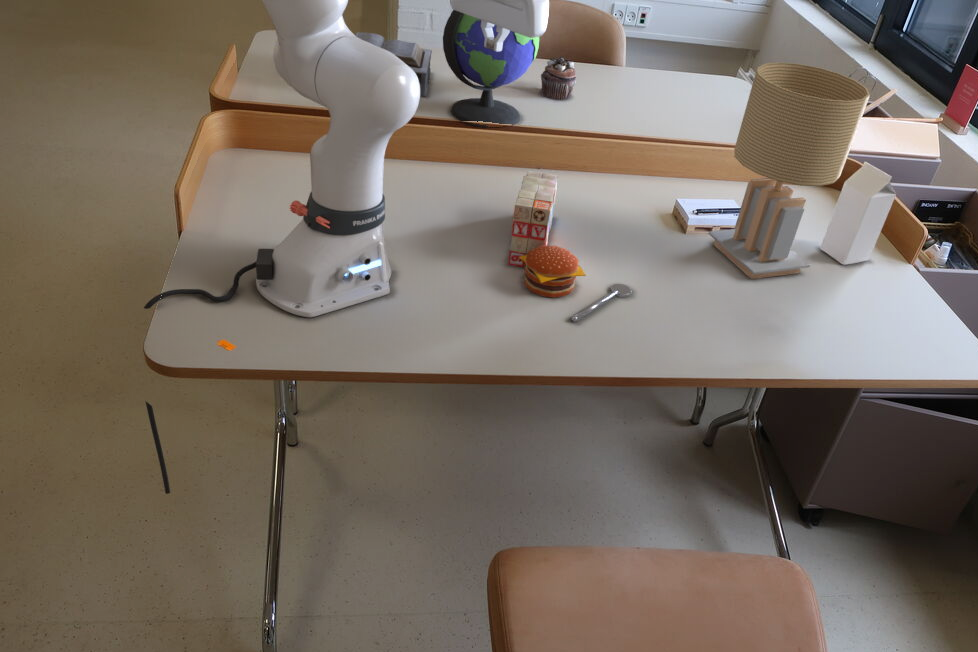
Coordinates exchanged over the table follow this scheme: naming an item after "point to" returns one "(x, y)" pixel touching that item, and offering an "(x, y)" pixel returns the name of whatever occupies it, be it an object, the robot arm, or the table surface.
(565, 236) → the table surface
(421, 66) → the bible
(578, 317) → the metal handle tool
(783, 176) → the desk lamp
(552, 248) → the hamburger
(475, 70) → the globe
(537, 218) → the stack of blocks
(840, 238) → the milk carton
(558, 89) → the cupcake
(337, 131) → the robot arm
